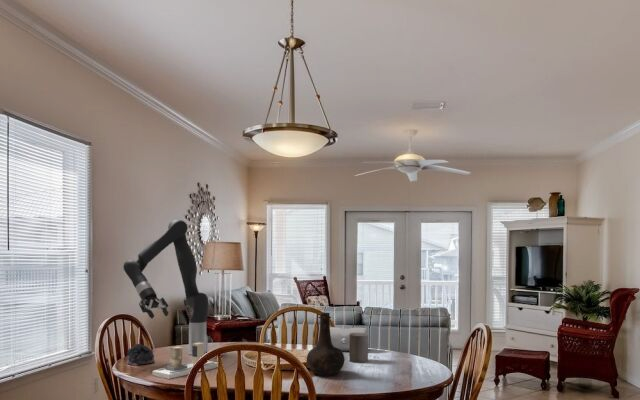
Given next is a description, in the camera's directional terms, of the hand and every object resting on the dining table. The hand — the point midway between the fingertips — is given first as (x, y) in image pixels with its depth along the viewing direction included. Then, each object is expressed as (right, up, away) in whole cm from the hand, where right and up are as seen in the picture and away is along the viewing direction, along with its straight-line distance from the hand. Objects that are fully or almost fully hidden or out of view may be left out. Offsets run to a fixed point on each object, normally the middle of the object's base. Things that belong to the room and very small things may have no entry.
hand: (160, 316), depth 286 cm
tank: (+94, -27, +35) cm, 104 cm away
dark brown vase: (+82, -23, -18) cm, 87 cm away
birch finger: (+12, -22, -16) cm, 30 cm away
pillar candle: (+100, -25, +9) cm, 103 cm away
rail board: (+16, -24, -12) cm, 31 cm away
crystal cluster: (-12, -25, +7) cm, 29 cm away
